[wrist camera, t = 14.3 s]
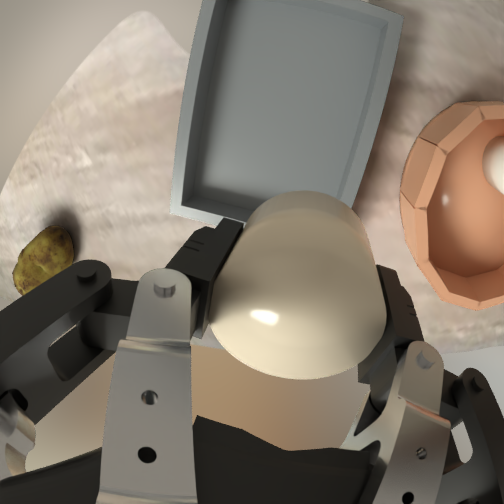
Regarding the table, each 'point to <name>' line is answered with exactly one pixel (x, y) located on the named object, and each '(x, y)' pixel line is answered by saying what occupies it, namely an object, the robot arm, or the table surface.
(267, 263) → the pebble
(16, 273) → the potato
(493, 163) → the pebble
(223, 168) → the tray
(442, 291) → the bowl
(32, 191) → the table surface
